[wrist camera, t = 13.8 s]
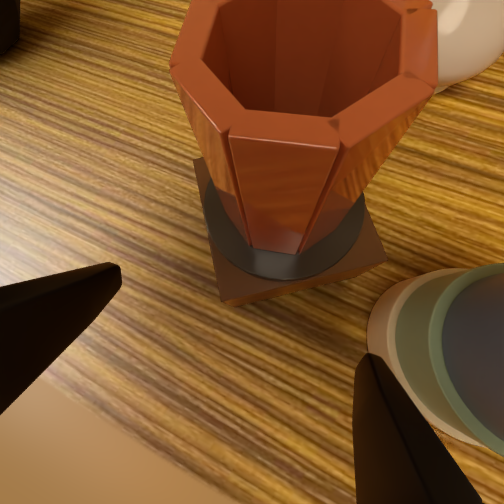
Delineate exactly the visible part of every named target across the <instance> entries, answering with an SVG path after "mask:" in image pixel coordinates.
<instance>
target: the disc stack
mask: <svg viewBox="0 0 504 504" xmlns="http://www.w3.org/2000/svg"><path fill="white" fill-rule="evenodd" d="M367 345H368V351H369V353H372V354H375V355H378V356H380V357H382V358H383V360H384V361H385V363H386V364H387V365H388V367H389V368H390V370H391V371H392V372H393V374H394V375H395V377H396V378H397V380H398V381H399V382H400V384H401V385H402V387H403V388H404V389H405V391H406V392H407V394H408V395H409V397H410V398H411V399H412V401H413V402H414V404H415V405H416V406H417V408H418V409H419V411H420V412H421V414H422V415H423V416H424V418H425V419H426V421H427V422H429V423H431V424H432V425H434V426H435V427H437V428H438V429H440V430H442V431H443V432H445V433H447V434H449V435H450V436H452V437H454V438H456V439H459V440H461V441H463V442H466V443H469V444H472V445H476V446H480V447H486V448H489V449H490V450H492V451H494V452H496V453H497V454H499V455H501V456H503V457H504V263H496V264H489V265H484V266H480V267H476V268H472V269H463V268H448V269H441V270H436V271H433V272H429V273H426V274H423V275H419V276H416V277H413V278H409V279H406V280H403V281H401V282H399V283H397V284H395V285H393V286H392V287H390V288H389V289H387V290H386V291H385V292H384V293H383V294H382V295H381V296H380V298H379V299H378V300H377V302H376V303H375V305H374V307H373V309H372V311H371V314H370V317H369V321H368V327H367Z"/></svg>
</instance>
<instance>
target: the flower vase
mask: <svg viewBox="0 0 504 504" xmlns="http://www.w3.org/2000/svg"><path fill="white" fill-rule="evenodd" d="M430 1H431V2H433V6H432V8H431V9H436V10H437V16H438V85H437V87H436V88H435V92H434V94H437V93H439V92H442V91H443V90H445V89H446V88H447V87H449V86H450V85H454V84H457V83H459V82H462V81H465V80H467V79H470V78H472V77H474V76H476V75H478V74H480V73H481V72H482V71H484V70H485V69H487V68H488V67H490V66H491V65H492V64H493V63H495V62H496V61H497V60H498V59H499V57H500V56H501V55H502V53H503V52H504V0H430ZM434 94H433V95H434Z"/></svg>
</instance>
